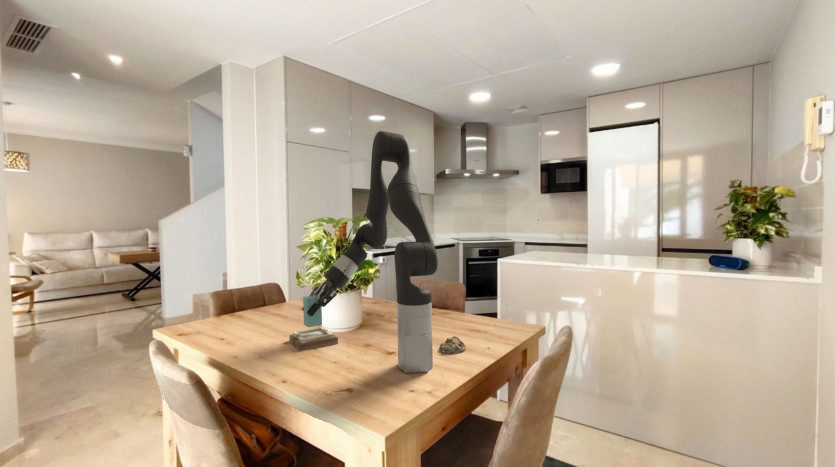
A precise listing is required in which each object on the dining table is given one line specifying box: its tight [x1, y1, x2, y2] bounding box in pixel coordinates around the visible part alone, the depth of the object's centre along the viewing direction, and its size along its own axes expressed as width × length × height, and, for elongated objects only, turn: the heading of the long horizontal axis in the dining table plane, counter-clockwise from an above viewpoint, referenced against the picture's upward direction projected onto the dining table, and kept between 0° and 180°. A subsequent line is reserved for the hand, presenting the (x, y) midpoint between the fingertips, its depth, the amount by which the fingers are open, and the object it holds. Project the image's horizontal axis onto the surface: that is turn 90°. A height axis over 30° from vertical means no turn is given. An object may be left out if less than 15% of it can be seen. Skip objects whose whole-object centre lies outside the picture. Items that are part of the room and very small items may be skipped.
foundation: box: [289, 326, 339, 352], centre depth 122 cm, size 12×12×3 cm
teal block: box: [302, 295, 323, 328], centre depth 122 cm, size 4×4×9 cm
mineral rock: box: [439, 335, 467, 355], centre depth 114 cm, size 11×4×8 cm
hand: (306, 312), depth 121 cm, fingers closed on teal block, 4 cm apart
